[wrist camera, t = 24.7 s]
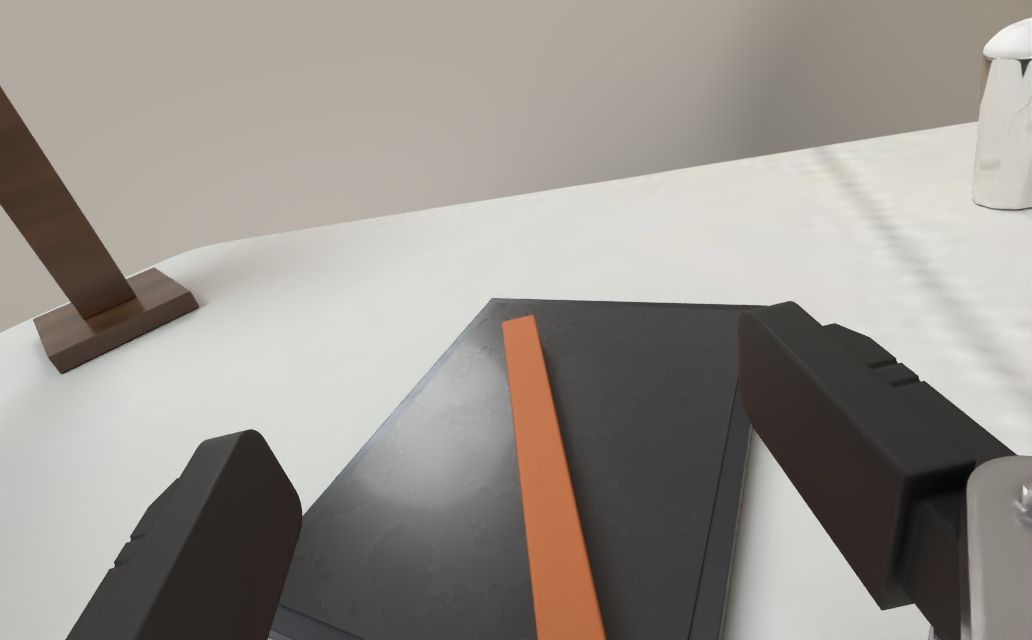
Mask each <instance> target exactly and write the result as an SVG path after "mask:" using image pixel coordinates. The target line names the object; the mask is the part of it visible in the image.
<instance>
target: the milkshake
mask: <svg viewBox="0 0 1032 640" xmlns="http://www.w3.org/2000/svg"><path fill="white" fill-rule="evenodd" d="M983 52H984V54H983V67H982V83H981V99H980V111H979V121H978V131H977V141H976V151H975V161H974V171H973V181H972V192H971V197H972V198H973V200H974V201H975V203H976V204H979V205H983V206H986V207H990V208H993V209H1015V210H1017V209H1023V208H1030V207H1032V18H1028V19H1025V20H1022V21H1020V22H1017V23H1014V24H1012V25H1010V26H1008V27H1006V28H1004V29H1002V30H1001V31H1000V32H998V33H997V34H996V35H995V36H994V37H993V38H992V39H991V40H990V41H989V42H988V43H987V44H986V45H985V47H984V51H983Z"/></svg>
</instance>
